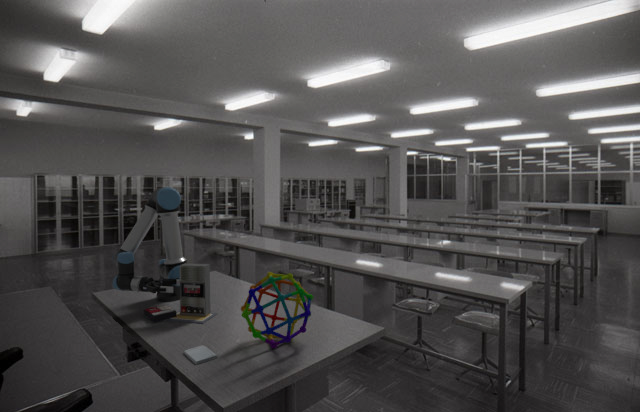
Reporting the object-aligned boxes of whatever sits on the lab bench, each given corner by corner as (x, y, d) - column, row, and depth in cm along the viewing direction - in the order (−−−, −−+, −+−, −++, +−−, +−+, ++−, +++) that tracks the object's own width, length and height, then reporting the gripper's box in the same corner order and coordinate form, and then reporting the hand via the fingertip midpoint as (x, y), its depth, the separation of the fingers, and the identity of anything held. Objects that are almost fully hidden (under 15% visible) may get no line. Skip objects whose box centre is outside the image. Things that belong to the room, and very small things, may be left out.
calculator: (165, 304, 193) (176, 309, 182) (166, 312, 193) (176, 318, 182) (143, 308, 186) (153, 314, 174) (143, 317, 186) (153, 323, 174)
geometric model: (299, 273, 173) (241, 261, 158) (336, 284, 148) (270, 270, 133) (284, 338, 169) (222, 332, 153) (319, 360, 144) (249, 356, 128)
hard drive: (217, 355, 138) (203, 344, 148) (196, 361, 133) (183, 350, 142) (217, 359, 138) (203, 348, 148) (196, 366, 133) (183, 354, 142)
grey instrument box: (179, 315, 183) (178, 265, 182) (185, 311, 189) (184, 263, 188) (205, 317, 181) (204, 266, 180) (210, 312, 187) (210, 264, 186)
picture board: (180, 311, 192) (180, 310, 192) (217, 313, 187) (217, 312, 187) (163, 320, 178) (163, 319, 178) (203, 323, 173) (203, 322, 173)
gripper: (158, 285, 199) (194, 287, 195) (125, 298, 175) (165, 301, 171) (158, 271, 199) (194, 273, 195) (125, 282, 174) (165, 285, 170)
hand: (181, 286), depth 183 cm, fingers open, 13 cm apart
